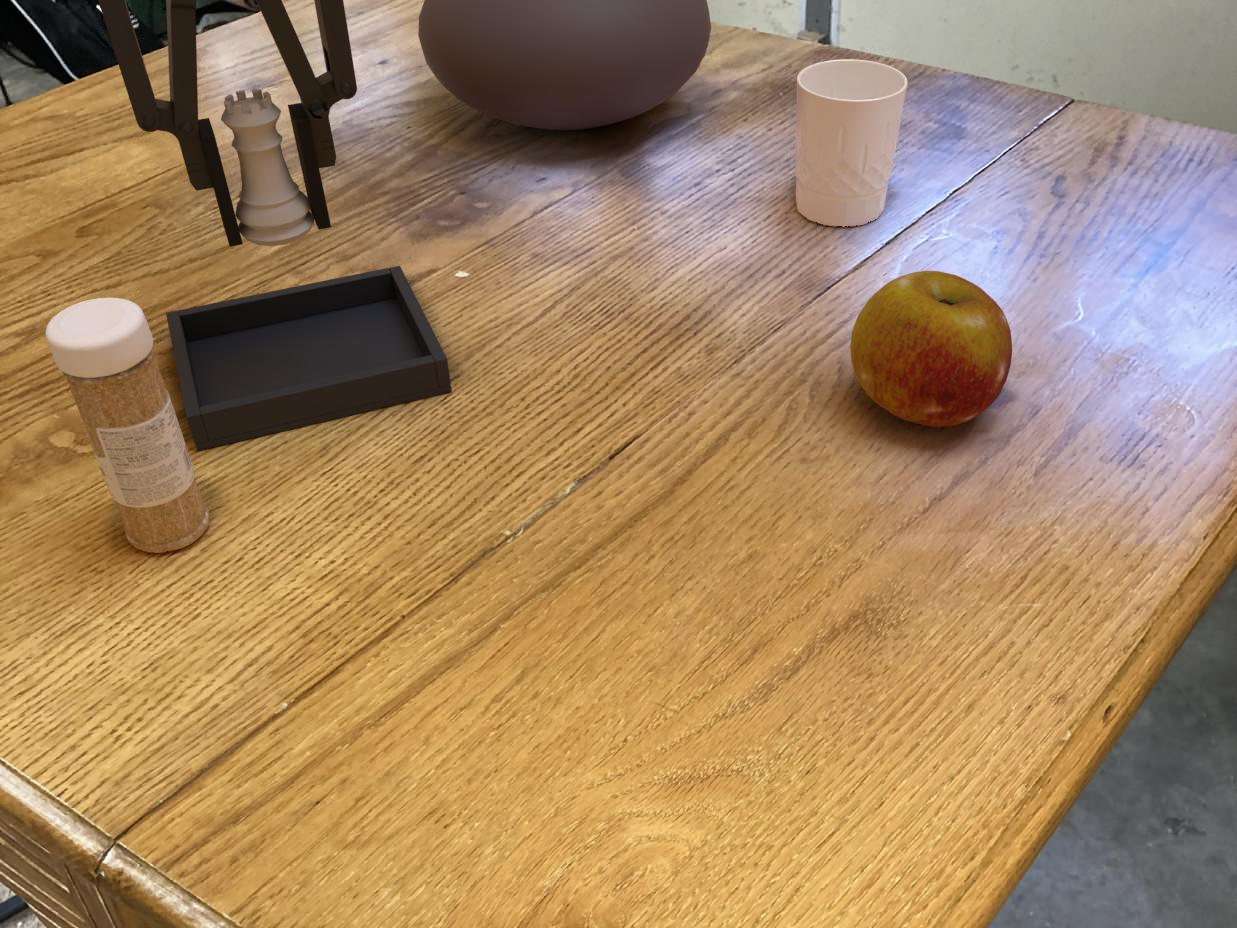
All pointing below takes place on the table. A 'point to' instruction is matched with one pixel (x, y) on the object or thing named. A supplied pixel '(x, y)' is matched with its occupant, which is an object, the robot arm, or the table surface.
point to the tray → (304, 356)
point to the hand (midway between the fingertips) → (277, 226)
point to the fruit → (932, 348)
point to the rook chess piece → (264, 174)
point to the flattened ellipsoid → (563, 56)
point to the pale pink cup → (846, 139)
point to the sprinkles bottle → (129, 421)
